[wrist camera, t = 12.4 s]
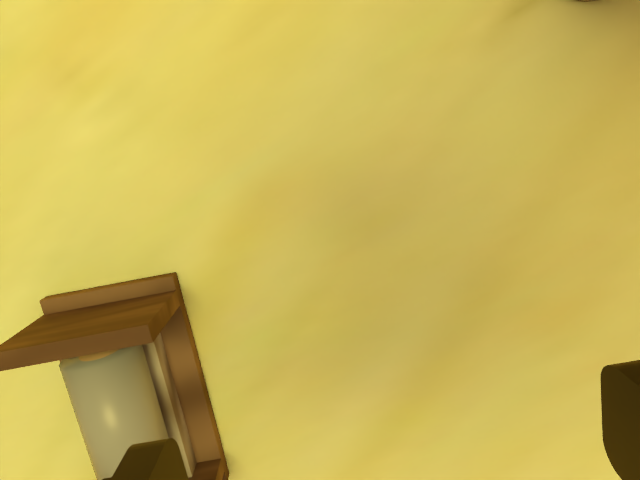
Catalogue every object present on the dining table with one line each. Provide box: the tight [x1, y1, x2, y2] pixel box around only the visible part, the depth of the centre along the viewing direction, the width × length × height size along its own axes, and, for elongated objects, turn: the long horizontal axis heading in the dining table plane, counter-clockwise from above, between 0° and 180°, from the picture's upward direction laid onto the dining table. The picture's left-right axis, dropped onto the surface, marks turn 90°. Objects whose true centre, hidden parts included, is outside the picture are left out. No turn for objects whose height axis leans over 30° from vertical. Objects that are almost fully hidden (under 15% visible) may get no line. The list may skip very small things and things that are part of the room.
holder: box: [0, 272, 229, 480], centre depth 34 cm, size 18×10×8 cm, turn 10°
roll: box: [59, 345, 169, 480], centre depth 33 cm, size 11×5×5 cm, turn 10°
